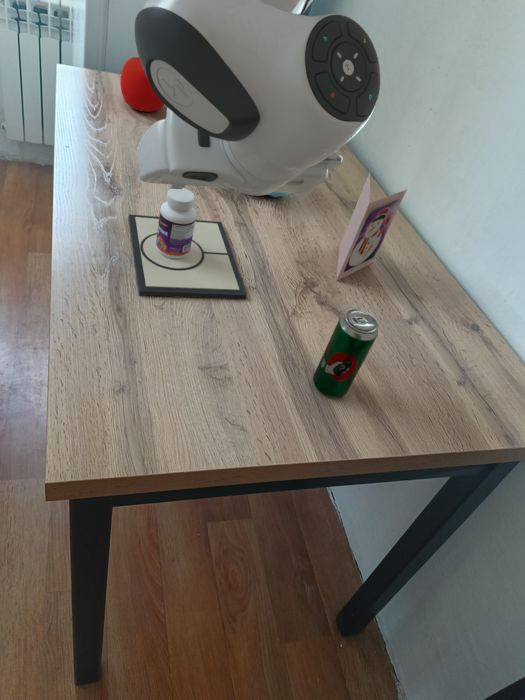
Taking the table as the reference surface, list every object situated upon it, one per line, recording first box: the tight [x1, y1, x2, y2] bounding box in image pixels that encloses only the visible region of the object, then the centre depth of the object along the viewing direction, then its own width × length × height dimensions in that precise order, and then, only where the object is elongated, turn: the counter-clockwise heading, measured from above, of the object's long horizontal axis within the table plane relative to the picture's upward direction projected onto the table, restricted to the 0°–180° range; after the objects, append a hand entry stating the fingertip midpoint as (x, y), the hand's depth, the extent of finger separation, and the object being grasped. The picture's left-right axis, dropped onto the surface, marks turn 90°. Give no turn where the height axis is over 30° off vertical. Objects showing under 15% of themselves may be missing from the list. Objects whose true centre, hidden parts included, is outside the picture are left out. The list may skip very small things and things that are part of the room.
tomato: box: [119, 56, 165, 113], centre depth 119 cm, size 10×11×11 cm
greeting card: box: [336, 172, 408, 281], centre depth 91 cm, size 11×7×15 cm, turn 136°
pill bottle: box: [156, 187, 197, 259], centre depth 81 cm, size 5×5×10 cm
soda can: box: [312, 308, 379, 398], centre depth 69 cm, size 5×5×12 cm
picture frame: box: [127, 213, 248, 300], centre depth 86 cm, size 16×20×1 cm
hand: (213, 185), depth 64 cm, fingers open, 8 cm apart
